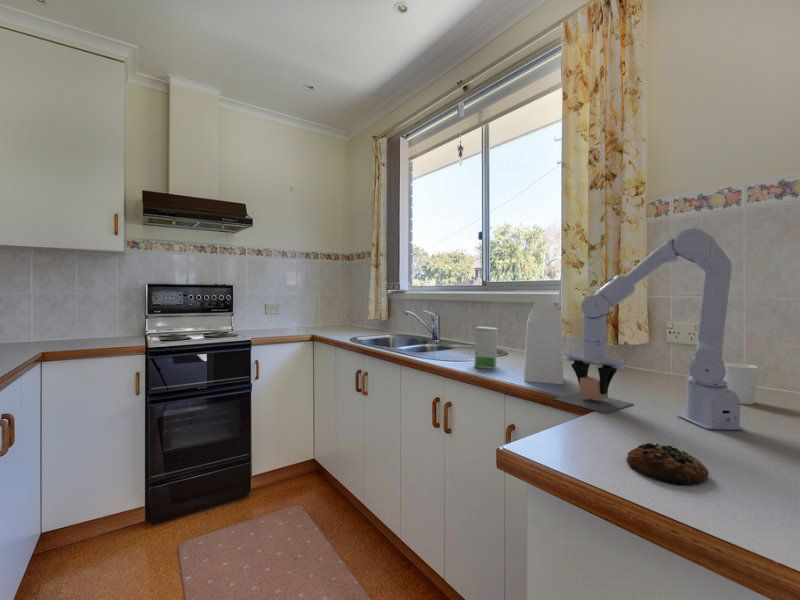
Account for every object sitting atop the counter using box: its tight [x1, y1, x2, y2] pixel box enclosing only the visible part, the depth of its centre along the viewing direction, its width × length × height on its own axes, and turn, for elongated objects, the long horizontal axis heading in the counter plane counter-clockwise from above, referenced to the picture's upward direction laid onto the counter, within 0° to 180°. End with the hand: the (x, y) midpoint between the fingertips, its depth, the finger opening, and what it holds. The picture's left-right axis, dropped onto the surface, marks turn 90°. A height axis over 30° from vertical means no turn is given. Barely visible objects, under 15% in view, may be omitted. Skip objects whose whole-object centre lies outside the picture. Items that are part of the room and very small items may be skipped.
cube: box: [579, 375, 609, 401], centre depth 102 cm, size 5×5×5 cm
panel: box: [553, 392, 634, 415], centre depth 102 cm, size 14×14×1 cm
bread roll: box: [625, 442, 710, 486], centre depth 63 cm, size 11×11×5 cm
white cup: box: [723, 362, 759, 405], centre depth 105 cm, size 8×8×10 cm
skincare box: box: [473, 326, 499, 370], centre depth 149 cm, size 8×7×16 cm
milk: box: [523, 302, 564, 385], centre depth 129 cm, size 12×12×26 cm
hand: (593, 391), depth 102 cm, fingers closed on cube, 5 cm apart
